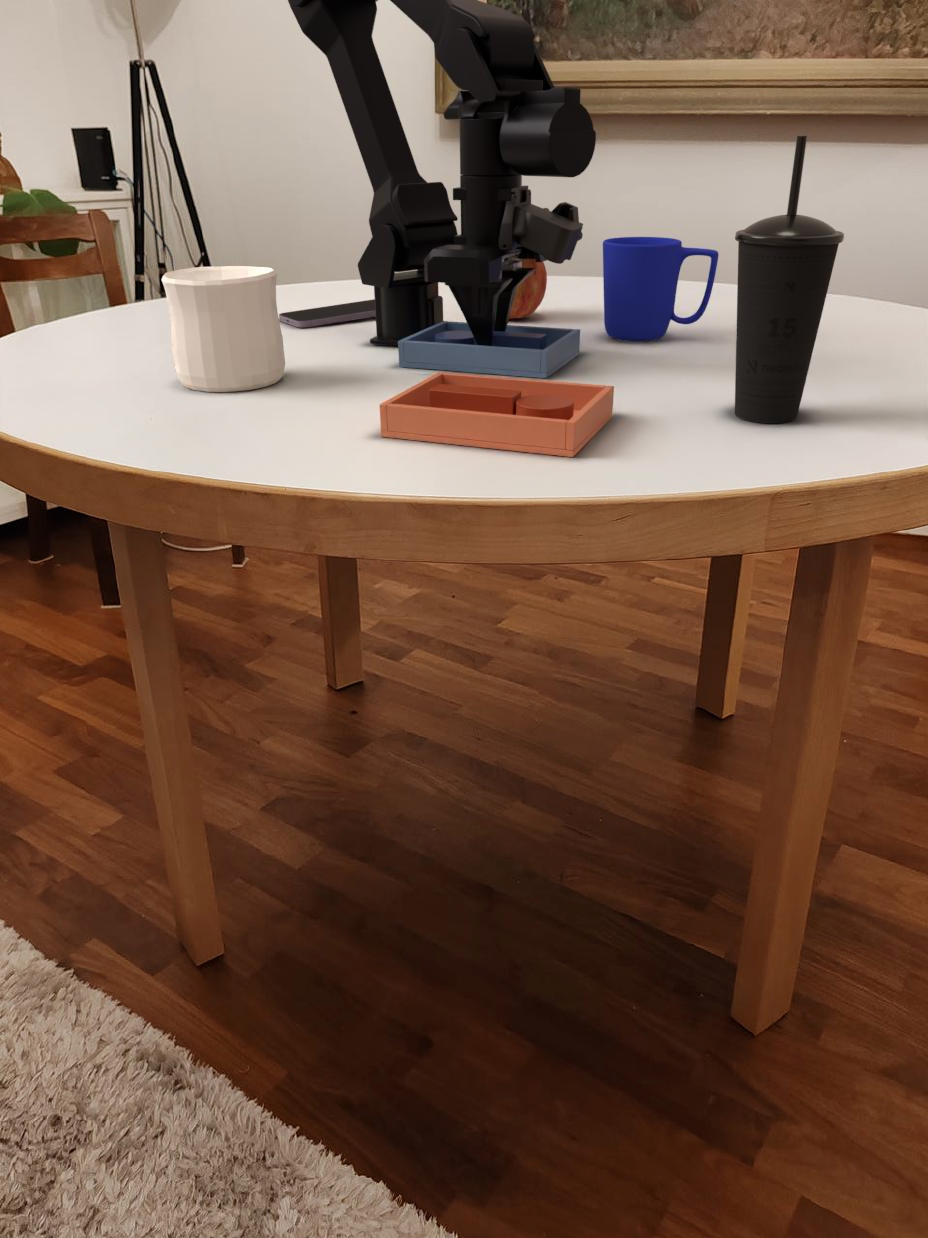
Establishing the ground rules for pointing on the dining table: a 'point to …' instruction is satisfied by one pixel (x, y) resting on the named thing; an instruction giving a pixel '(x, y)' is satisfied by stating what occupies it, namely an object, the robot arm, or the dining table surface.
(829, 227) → the drinking cup
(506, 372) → the blue tray
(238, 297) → the cup
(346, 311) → the smartphone
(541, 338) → the blue spoon
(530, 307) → the fruit
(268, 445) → the dining table surface
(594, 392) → the terracotta tray
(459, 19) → the robot arm
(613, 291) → the mug
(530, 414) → the terracotta spoon
